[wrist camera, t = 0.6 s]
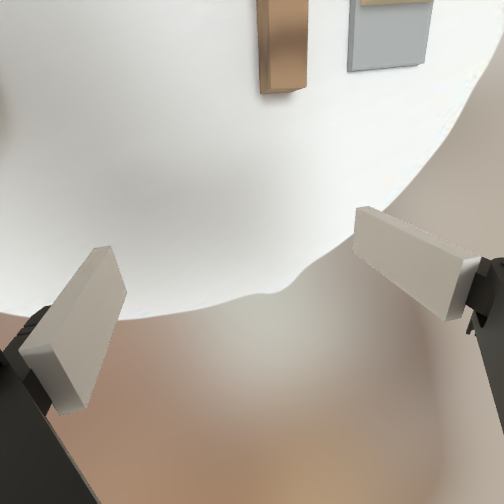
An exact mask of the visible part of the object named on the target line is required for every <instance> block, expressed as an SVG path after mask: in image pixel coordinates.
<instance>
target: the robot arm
mask: <svg viewBox="0 0 504 504" xmlns="http://www.w3.org/2000/svg"><path fill="white" fill-rule="evenodd" d="M352 252H353V253H355V254H356V255H357V256H359V257H360V258H361V259H363V260H364V261H365V262H367V263H368V264H369V265H370V266H372V267H373V268H374V269H376V270H377V271H378V272H380V273H381V274H382V275H384V276H385V277H386V278H388V279H389V280H390V281H392V282H393V283H394V284H396V285H397V286H398V287H400V288H401V289H402V290H404V291H405V292H406V293H407V294H409V295H410V296H411V297H413V298H414V299H415V300H417V301H418V302H419V303H421V304H422V305H423V306H425V307H426V308H427V309H429V310H430V311H431V312H433V313H434V314H435V315H437V316H438V317H439V318H440V319H442V320H443V321H444V322H445V321H449V320H454V319H458V318H461V317H462V314H463V311H464V308H465V305H467V306H469V307H470V308H472V309H473V310H474V311H473V313H472V316H471V319H470V322H469V325H468V328H467V330H466V334H470V332H471V331H472V330H475V336H476V337H477V340H478V344H479V348H480V351H481V355H482V358H483V362H484V366H485V369H486V373H487V376H488V380H489V383H490V387H491V390H492V394H493V398H494V401H495V405H496V408H497V412H498V415H499V419H500V423H501V426H502V430H503V433H504V258H495V259H493V260H488V259H486V258H484V257H482V256H480V255H478V254H476V253H474V252H471V251H469V250H467V249H465V248H462V247H460V246H458V245H455V244H453V243H451V242H449V241H446V240H444V239H442V238H440V237H437V236H435V235H433V234H431V233H428V232H426V231H424V230H421V229H419V228H417V227H415V226H412V225H410V224H408V223H405V222H403V221H401V220H399V219H396V218H394V217H392V216H390V215H387V214H385V213H383V212H381V211H378V210H376V209H374V208H372V207H369V206H366V207H360V208H356V216H355V227H354V238H353V249H352ZM126 294H127V291H126V288H125V285H124V282H123V280H122V277H121V274H120V271H119V268H118V265H117V262H116V259H115V256H114V254H113V251H112V248H111V246H107V247H100V248H94V249H93V251H92V252H91V253H90V255H89V256H88V257H87V259H86V260H85V261H84V263H83V264H82V265H81V267H80V268H79V269H78V271H77V272H76V273H75V275H74V276H73V277H72V279H71V280H70V281H69V283H68V284H67V285H66V287H65V288H64V289H63V291H62V292H61V293H60V295H59V296H58V297H57V299H56V300H55V301H54V303H53V304H52V305H50V306H45V307H43V308H42V309H41V310H39V311H38V312H37V313H35V314H34V315H33V316H31V318H30V319H29V320H28V321H27V323H26V324H25V325H24V328H22V329H21V330H20V331H19V333H18V334H17V337H14V339H13V340H12V341H11V342H10V344H9V345H8V346H7V347H6V348H5V350H4V351H3V352H2V351H1V350H0V504H101V502H100V501H99V499H98V498H97V496H96V495H95V493H94V491H93V490H92V488H91V487H90V485H89V484H88V482H87V480H86V479H85V477H84V476H83V474H82V473H81V471H80V470H79V468H78V466H77V465H76V463H75V462H74V460H73V459H72V457H71V456H70V454H69V452H68V451H67V449H66V448H65V446H64V444H63V443H62V441H61V440H60V438H59V437H58V435H57V434H56V432H55V430H54V429H53V427H52V426H51V424H50V422H49V421H48V420H47V418H46V417H45V416H46V414H47V412H48V410H49V408H50V406H51V404H53V406H54V408H55V409H56V411H57V412H58V414H59V415H64V414H68V413H72V412H76V411H80V410H84V409H86V408H87V405H88V402H89V399H90V396H91V394H92V391H93V388H94V385H95V382H96V380H97V377H98V374H99V371H100V368H101V365H102V362H103V359H104V357H105V354H106V351H107V348H108V345H109V343H110V340H111V337H112V334H113V331H114V328H115V326H116V323H117V320H118V317H119V314H120V311H121V309H122V306H123V303H124V300H125V297H126Z"/></svg>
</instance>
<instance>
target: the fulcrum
mask: <svg viewBox="0 0 504 504" xmlns="http://www.w3.org/2000/svg"><path fill="white" fill-rule="evenodd" d="M432 7H433V0H350V20H349V43H348V66H347V72H349V71H359V70H370V69H380V68H391V67H401V66H412V65H419V64H423V63H424V61H425V54H426V48H427V41H428V34H429V27H430V21H431V14H432Z"/></svg>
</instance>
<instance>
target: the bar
mask: <svg viewBox="0 0 504 504" xmlns="http://www.w3.org/2000/svg"><path fill="white" fill-rule="evenodd" d="M256 1H257V25H258V49H259V73H260V94H262V93H282V92H293V91H296V90H299V89H302V88H305V87H306V86H307V42H308V0H256Z"/></svg>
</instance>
